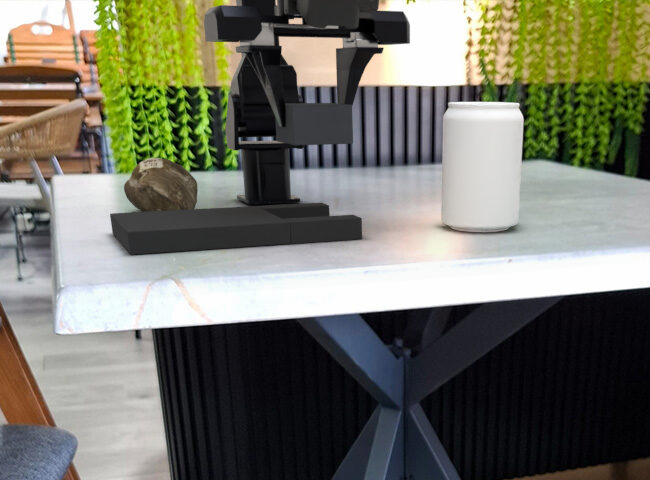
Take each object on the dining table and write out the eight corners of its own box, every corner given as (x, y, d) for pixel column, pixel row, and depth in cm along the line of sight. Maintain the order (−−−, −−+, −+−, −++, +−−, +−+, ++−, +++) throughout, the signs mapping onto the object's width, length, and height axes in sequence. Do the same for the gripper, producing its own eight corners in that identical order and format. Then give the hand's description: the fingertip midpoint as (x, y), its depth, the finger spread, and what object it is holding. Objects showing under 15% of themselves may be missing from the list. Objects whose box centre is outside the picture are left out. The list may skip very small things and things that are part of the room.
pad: (276, 141, 90) (274, 103, 89) (332, 139, 92) (331, 102, 91) (294, 145, 85) (292, 105, 84) (353, 143, 87) (352, 104, 86)
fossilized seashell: (123, 186, 104) (111, 213, 96) (146, 135, 102) (136, 158, 93) (184, 219, 107) (177, 247, 99) (208, 170, 105) (203, 195, 97)
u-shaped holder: (112, 234, 89) (109, 213, 88) (322, 221, 97) (321, 202, 96) (130, 255, 79) (127, 231, 78) (362, 239, 87) (362, 217, 87)
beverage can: (460, 235, 90) (463, 104, 84) (429, 223, 96) (430, 101, 91) (531, 231, 92) (539, 104, 87) (496, 219, 99) (501, 101, 94)
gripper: (224, -79, 71) (240, 132, 78) (435, -64, 78) (433, 128, 85) (195, -62, 80) (211, 126, 87) (386, -50, 87) (388, 123, 94)
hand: (313, 126), depth 88 cm, fingers closed on pad, 6 cm apart
